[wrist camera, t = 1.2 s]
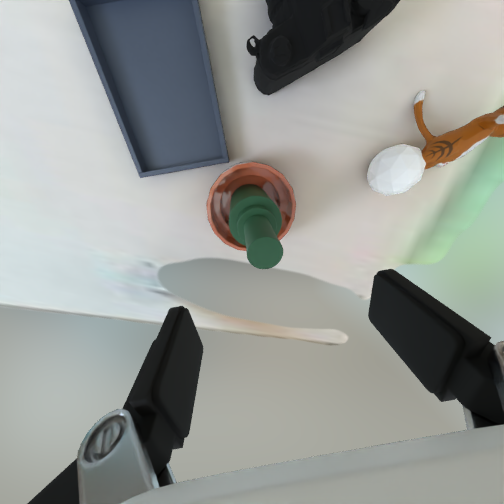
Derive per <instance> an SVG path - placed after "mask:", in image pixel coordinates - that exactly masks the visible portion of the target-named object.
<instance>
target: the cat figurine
mask: <svg viewBox="0 0 504 504" xmlns="http://www.w3.org/2000/svg"><path fill="white" fill-rule="evenodd" d="M424 97H425V91H424V90H422V91H420V92H419V93H418V95H417V96H416V98H415V101H414V114H415V119H416V123H417V126H418V128H419V130H420V132H421V134H422V135H423V137H424V138H425V140H426V146H425V147H424V149H423V150H422V152H421V151H420V149H419V148H417V147H413V146H410V145H406V144H399V145H396V146H393V147H390V148H387V149H384V150H382V151H381V152H380V153H379V154H377V155H376V156H375V157H374V159H373V160H372V162H371V163H370V166H369V169H368V174H367V180H368V183H369V184H370V186H371V188H372V190H374V191H376V192H379V193H381V194H384V195H386V196H388V195H393V194H398V193H404V192H406V191H407V190H408V189H410V188H411V187H412V186H413V185H415V184H416V183H417V182H418V181H420V180H421V177H422V174H423V171H424V170H425V169H428V168H431V167H433V166H435V165H436V166H438V167H441V166H444V165H445V164H448V162H450V161H454V160H456V159H458V158H460V157H462V156H464V155H465V154H467V153H468V152H470V151H471V150H472V149H474V148H475V147H476V146H478V145H479V144H480V143H482V142H483V141H484V140H485V139H487V138H488V137H489V136H492V137H504V106H503V107H501V108H499V109H498V110H496V111H495V112H494V113H489V114H485V115H482V116H480V117H478V118H476V119H474V120H472V121H471V122H470V123H468V124H467V125H465V126H463V127H461V128H458V129H456V130H453V131H450V132H448V133H445V134H443V135H441V136H438V137H435V136H433V135H431V133H430V132H429V131H428V129H427V128H426V126H425V124H424V121H423V115H422V105H423V100H424Z"/></svg>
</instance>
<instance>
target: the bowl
mask: <svg viewBox="0 0 504 504" xmlns="http://www.w3.org/2000/svg"><path fill="white" fill-rule="evenodd" d="M245 184H254V185H257V186H259V187H261V188H262V189H263V190H264V191H265V192H266V194H267V195H268V196H269V197H270V198H271V199H272V201H273V202H274V203H275V204H276V205H277V207H278V208H279V210H280V212H281V216H282V226H281V229H280V232H279V234H278V235H277V238H278V239H279V241H280V240H281V239H282V238H283V237H284V236H285V234H286V233H287V232H288V231H289V229H290V226H291V224H292V222H293V220H294V217H295V208H296V201H295V197H294V193H293V189H292V187H291V186H290V184H289V183H288V181H287V180H286V178H285V177H284V175H283V174H281V173H280V172H278V171H277V170H275V169H274V168H272V167H271V166H269V165H265V164H261V163H256V162H251V161H249V162H243V163H237V164H234V165H233V166H231V167H230V168H228V169H226V170H225V171H223V172H222V174H221V175H220V176H219V178H218V179H217V180H216V182H215V183H214V184H213V186H212V187H211V189H210V193H209V197H208V200H207V215H208V221H209V223H210V225H211V227H212V229H213V231H214V233H215V234H216V235H217V236H218V237H219V238H220V239H221V240H222V241H223V242H224V243H225V244H227V245H229V246H231V247H233V248H235V249H237V250H243V251H246V246H245V245H242V244H240V243H239V242H238V241H237V240H236V239H235V238H234V237H233V236H232V234H231V232H230V229H229V213H230V202H231V197H232V195H233V193H234V191H235V190H236V189H237V188H239V187H240V186H242V185H245Z"/></svg>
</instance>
